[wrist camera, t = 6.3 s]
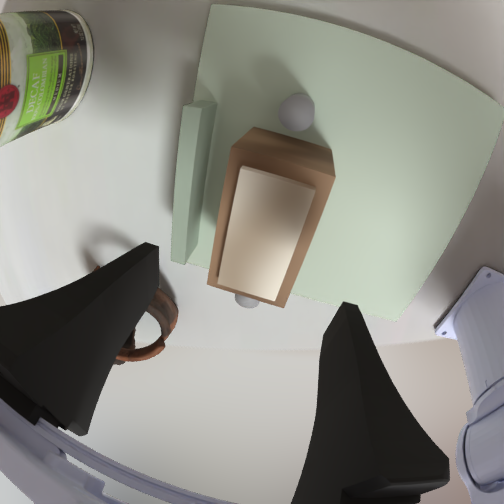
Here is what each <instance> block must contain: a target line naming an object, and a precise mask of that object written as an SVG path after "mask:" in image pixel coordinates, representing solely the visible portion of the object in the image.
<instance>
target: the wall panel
mask: <svg viewBox="0 0 504 504" xmlns="http://www.w3.org/2000/svg"><path fill="white" fill-rule="evenodd" d="M503 121H504V107H503V106H502V105H500V104H499V103H497V102H496V101H495V100H493V99H492V98H490V97H489V96H487V95H486V94H484V93H483V92H481V91H480V90H478V89H477V88H475V87H474V86H472V85H471V84H469V83H467V82H466V81H464V80H462V79H461V78H459V77H457V76H456V75H454V74H452V73H450V72H449V71H447V70H445V69H443V68H441V67H439V66H437V65H436V64H434V63H432V62H430V61H428V60H426V59H424V58H422V57H420V56H417V55H415V54H413V53H411V52H409V51H407V50H404V49H402V48H400V47H397V46H395V45H393V44H390V43H388V42H385V41H383V40H380V39H377V38H375V37H372V36H369V35H366V34H364V33H361V32H358V31H355V30H352V29H348V28H345V27H342V26H339V25H335V24H332V23H328V22H324V21H320V20H317V19H312V18H308V17H304V16H299V15H295V14H290V13H285V12H279V11H273V10H267V9H260V8H253V7H245V6H235V5H223V4H211V8H210V13H209V17H208V22H207V26H206V31H205V36H204V41H203V46H202V51H201V57H200V62H199V68H198V73H197V79H196V85H195V92H194V98H193V103H190V104H187V105H184V106H183V111H182V118H181V126H180V135H179V144H178V154H177V164H176V175H175V187H174V201H173V217H172V238H171V261H173V262H176V263H179V264H183V265H185V264H186V262H187V263H190V264H193V265H196V266H200V267H203V268H206V269H209V268H210V261H211V255H212V249H213V243H214V237H215V231H216V225H217V219H218V214H219V208H220V202H221V197H222V191H223V186H224V181H225V175H226V170H227V165H228V160H229V155H230V149H231V146H232V145H233V144H234V143H236V142H237V141H238V140H239V139H240V138H241V137H242V136H243V135H245V134H246V133H247V132H248V131H249V130H250V129H251V128H253V127H257V128H261V129H265V130H269V131H273V132H276V133H280V134H283V135H287V136H290V137H294V138H297V139H301V140H304V141H307V142H310V143H314V144H317V145H320V146H323V147H326V148H329V149H332V154H333V161H334V168H335V175H336V178H335V181H334V184H333V186H332V189H331V192H330V195H329V197H328V200H327V203H326V205H325V208H324V210H323V213H322V216H321V218H320V221H319V223H318V226H317V229H316V231H315V234H314V236H313V239H312V241H311V244H310V246H309V249H308V251H307V254H306V256H305V259H304V261H303V264H302V266H301V268H300V271H299V273H298V276H297V278H296V281H295V283H294V285H293V288H292V290H291V292H290V293H291V294H294V295H298V296H301V297H305V298H308V299H312V300H316V301H319V302H323V303H327V304H330V305H334V306H338V307H340V306H341V304H342V302H343V301H345V302H348V303H352V304H355V305H358V307H359V309H360V311H361V313H364V314H368V315H371V316H375V317H379V318H383V319H387V320H391V321H395V322H397V320H398V319H399V318H400V316H401V315H402V314H403V312H404V311H405V309H406V308H407V307H408V305H409V304H410V302H411V301H412V300H413V298H414V297H415V295H416V294H417V292H418V291H419V289H420V288H421V287H422V285H423V284H424V282H425V281H426V279H427V277H428V276H429V274H430V273H431V271H432V270H433V268H434V266H435V265H436V263H437V262H438V260H439V258H440V257H441V255H442V253H443V252H444V250H445V248H446V247H447V245H448V243H449V241H450V240H451V238H452V236H453V234H454V233H455V231H456V229H457V227H458V225H459V223H460V222H461V220H462V218H463V216H464V214H465V212H466V210H467V208H468V206H469V204H470V202H471V200H472V198H473V196H474V194H475V192H476V189H477V187H478V185H479V183H480V181H481V178H482V176H483V174H484V172H485V169H486V167H487V164H488V162H489V160H490V157H491V155H492V152H493V149H494V147H495V144H496V142H497V139H498V136H499V133H500V130H501V127H502V124H503ZM235 300H236V302H237V303H238V304H239V305H240V306H242V307H245V308H254V307H256V306H257V305H258V304H259V301H258V300H255V299H251V298H248V297H245V296H242V295H238V294H235Z"/></svg>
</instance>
